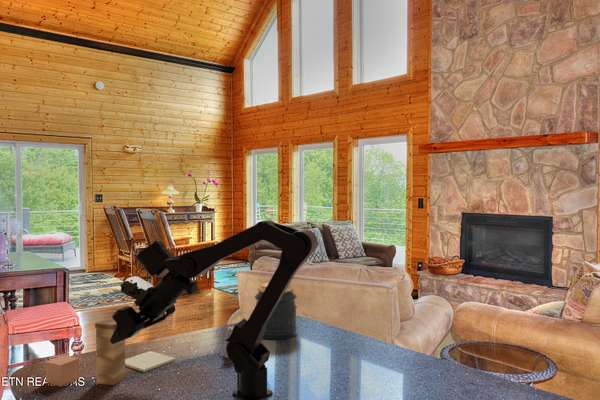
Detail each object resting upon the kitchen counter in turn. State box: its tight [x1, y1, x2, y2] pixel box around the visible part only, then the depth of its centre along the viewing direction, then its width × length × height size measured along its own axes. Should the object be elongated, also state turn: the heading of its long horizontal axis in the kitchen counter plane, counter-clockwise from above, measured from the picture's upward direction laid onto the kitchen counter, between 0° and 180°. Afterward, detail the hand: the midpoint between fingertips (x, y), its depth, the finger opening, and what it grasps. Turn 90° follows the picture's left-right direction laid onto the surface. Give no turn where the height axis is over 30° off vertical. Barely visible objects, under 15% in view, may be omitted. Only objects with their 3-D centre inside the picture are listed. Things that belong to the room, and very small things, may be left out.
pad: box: [125, 350, 176, 373], centre depth 128 cm, size 10×10×1 cm
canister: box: [254, 282, 298, 341], centre depth 152 cm, size 13×13×18 cm
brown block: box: [94, 317, 126, 386], centre depth 116 cm, size 5×5×14 cm
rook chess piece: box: [222, 324, 235, 360], centre depth 133 cm, size 4×4×8 cm
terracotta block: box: [45, 355, 80, 387], centre depth 116 cm, size 5×5×5 cm
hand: (123, 336), depth 115 cm, fingers open, 9 cm apart
